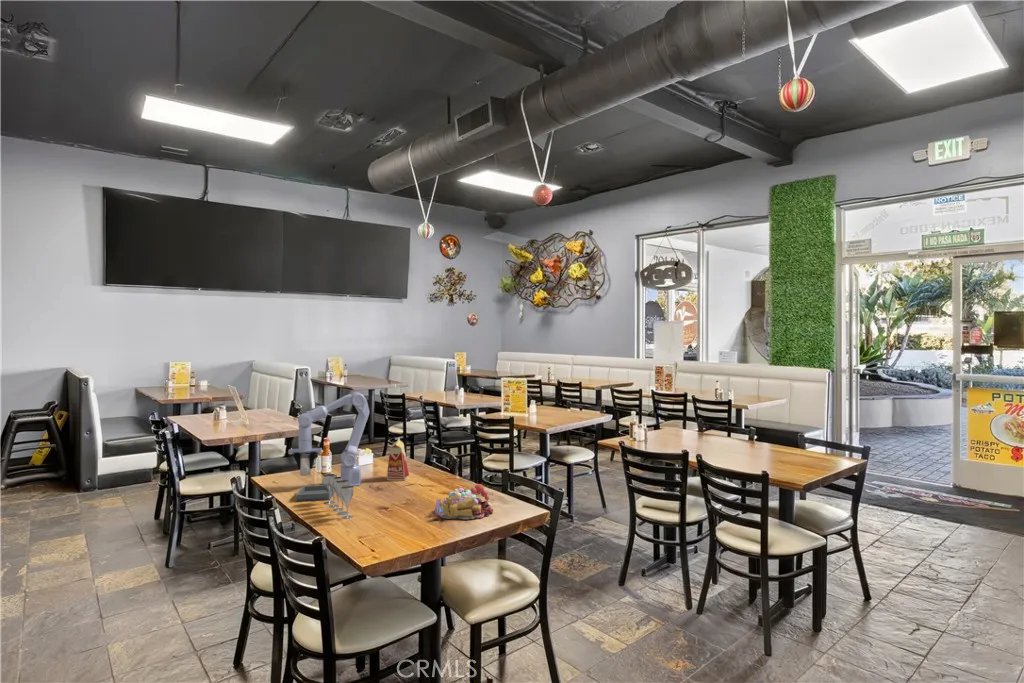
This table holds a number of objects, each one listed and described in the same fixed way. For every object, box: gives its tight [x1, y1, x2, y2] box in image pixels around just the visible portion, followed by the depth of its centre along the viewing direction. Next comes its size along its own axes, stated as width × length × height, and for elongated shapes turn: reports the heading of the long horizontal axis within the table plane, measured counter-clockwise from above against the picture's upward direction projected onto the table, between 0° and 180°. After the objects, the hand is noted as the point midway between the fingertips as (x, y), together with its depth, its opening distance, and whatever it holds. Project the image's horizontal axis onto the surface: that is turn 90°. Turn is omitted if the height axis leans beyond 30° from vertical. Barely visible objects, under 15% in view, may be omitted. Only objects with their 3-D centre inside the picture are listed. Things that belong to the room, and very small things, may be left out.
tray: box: [295, 484, 333, 503], centre depth 242 cm, size 14×14×3 cm
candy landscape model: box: [434, 483, 494, 520], centre depth 221 cm, size 25×24×9 cm
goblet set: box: [321, 473, 354, 520], centre depth 224 cm, size 28×6×13 cm, turn 36°
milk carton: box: [386, 437, 410, 482], centre depth 271 cm, size 9×9×20 cm
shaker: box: [299, 453, 312, 477], centre depth 254 cm, size 5×5×9 cm
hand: (305, 468), depth 254 cm, fingers closed on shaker, 5 cm apart
